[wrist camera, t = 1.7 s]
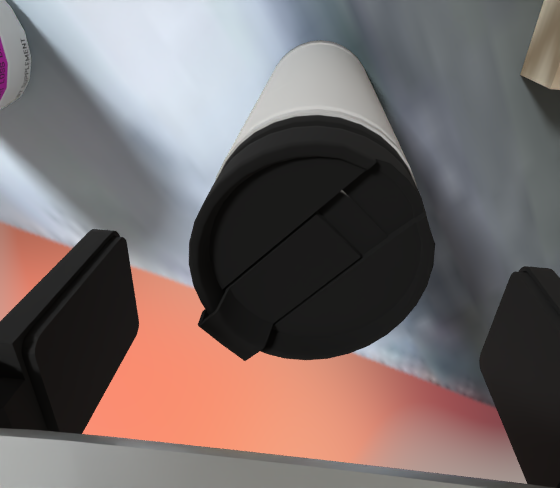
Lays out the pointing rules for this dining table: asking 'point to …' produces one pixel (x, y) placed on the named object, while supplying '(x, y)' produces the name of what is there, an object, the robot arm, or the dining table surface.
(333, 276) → the travel mug
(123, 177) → the dining table surface
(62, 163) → the dining table surface
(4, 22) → the supplement can
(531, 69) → the cream panel copper ring
